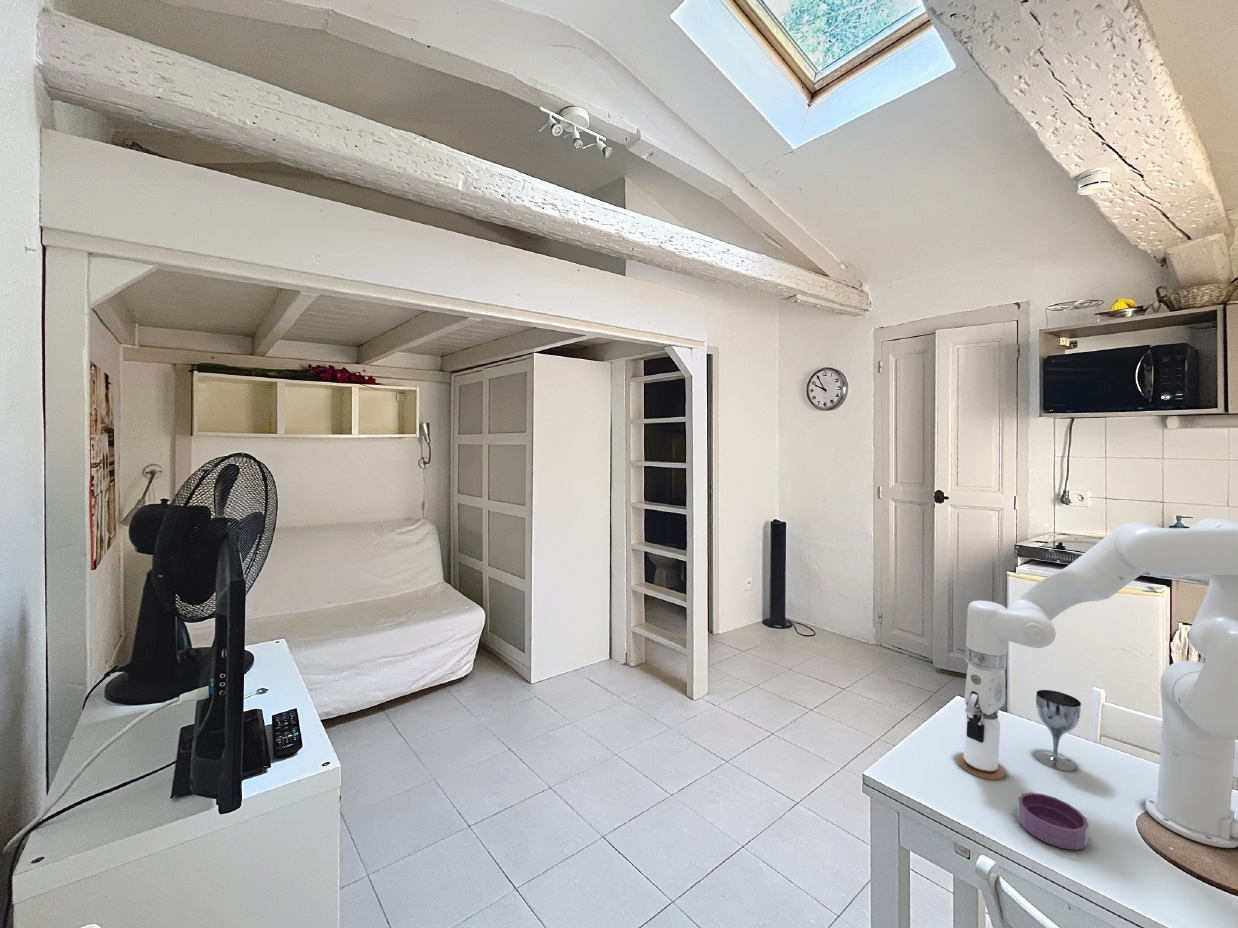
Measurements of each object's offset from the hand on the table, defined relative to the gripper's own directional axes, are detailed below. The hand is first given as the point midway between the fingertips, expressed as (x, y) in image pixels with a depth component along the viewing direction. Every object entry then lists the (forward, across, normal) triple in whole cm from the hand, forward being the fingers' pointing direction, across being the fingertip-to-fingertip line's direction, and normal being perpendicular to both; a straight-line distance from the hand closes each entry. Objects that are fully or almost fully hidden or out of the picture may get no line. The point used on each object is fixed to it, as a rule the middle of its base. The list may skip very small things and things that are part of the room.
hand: (981, 733), depth 119 cm
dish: (+8, -11, -16) cm, 21 cm away
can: (+7, 0, 0) cm, 7 cm away
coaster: (+8, 0, 0) cm, 8 cm away
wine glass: (+8, +17, -9) cm, 21 cm away
